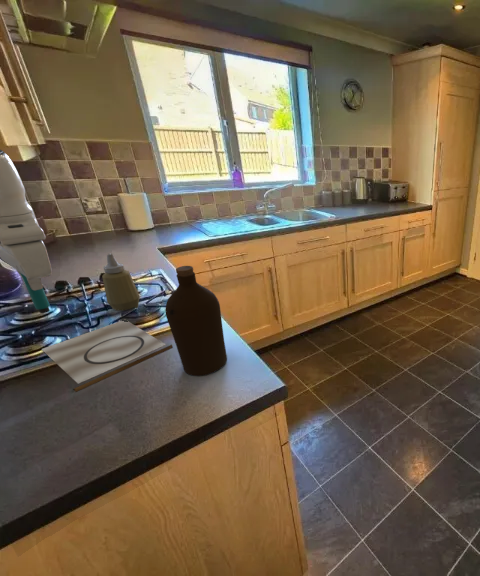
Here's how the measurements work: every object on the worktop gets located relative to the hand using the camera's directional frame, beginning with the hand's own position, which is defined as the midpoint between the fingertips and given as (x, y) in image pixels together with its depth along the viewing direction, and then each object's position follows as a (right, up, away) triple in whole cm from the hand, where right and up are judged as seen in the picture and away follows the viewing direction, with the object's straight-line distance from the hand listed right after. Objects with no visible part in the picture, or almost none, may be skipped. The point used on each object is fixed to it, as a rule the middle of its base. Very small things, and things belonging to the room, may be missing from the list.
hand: (34, 286), depth 74 cm
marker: (0, -6, +3) cm, 6 cm away
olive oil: (+36, -19, +5) cm, 41 cm away
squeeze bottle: (-1, -7, +28) cm, 29 cm away
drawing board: (+9, -16, +8) cm, 20 cm away
